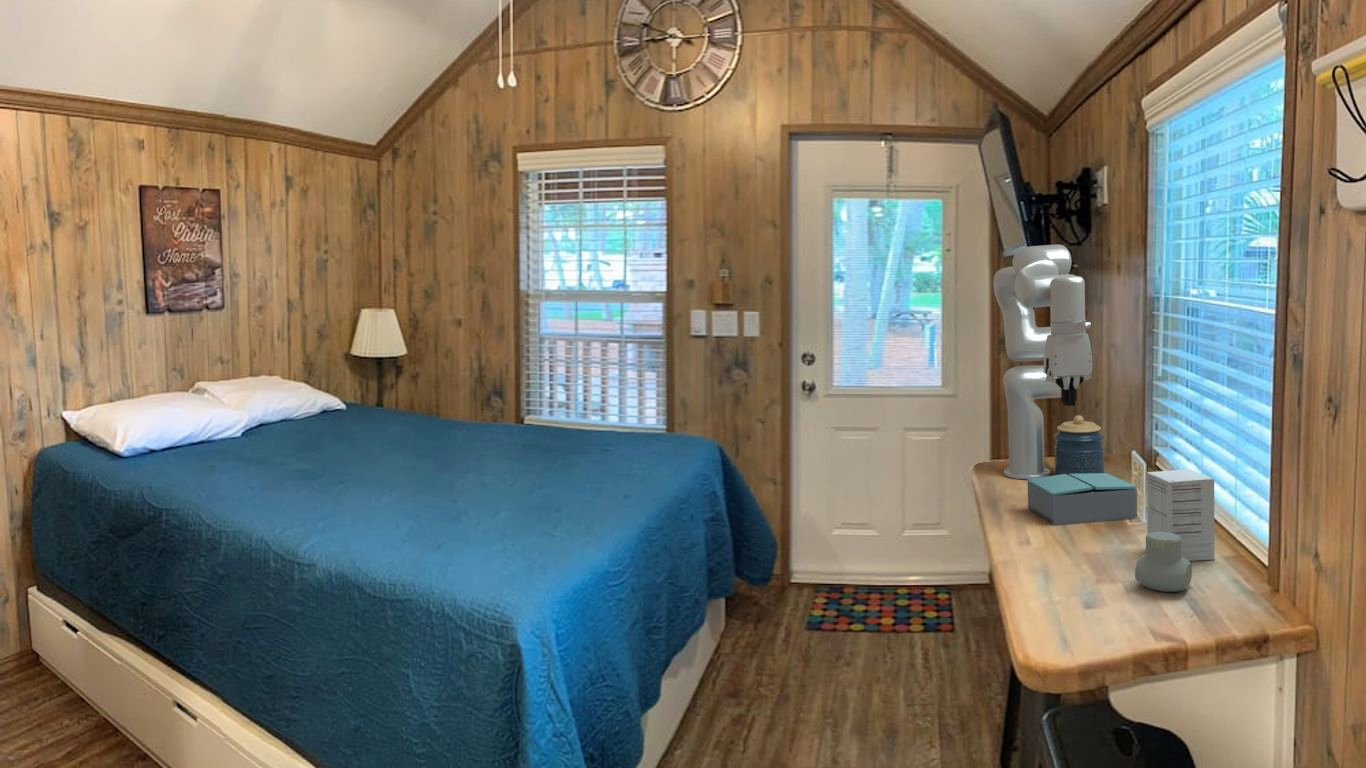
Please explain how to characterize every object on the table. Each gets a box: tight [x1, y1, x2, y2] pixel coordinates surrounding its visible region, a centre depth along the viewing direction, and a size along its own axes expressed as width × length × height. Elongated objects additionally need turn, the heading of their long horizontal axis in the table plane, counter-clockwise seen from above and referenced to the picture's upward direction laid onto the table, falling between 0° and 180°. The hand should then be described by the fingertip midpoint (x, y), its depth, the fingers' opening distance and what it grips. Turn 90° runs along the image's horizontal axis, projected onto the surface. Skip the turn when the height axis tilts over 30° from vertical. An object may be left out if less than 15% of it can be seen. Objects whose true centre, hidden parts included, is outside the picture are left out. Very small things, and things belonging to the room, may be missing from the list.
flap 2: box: [1069, 472, 1138, 490], centre depth 212 cm, size 14×10×1 cm
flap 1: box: [1027, 474, 1093, 496], centre depth 212 cm, size 14×10×1 cm
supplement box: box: [1146, 469, 1216, 562], centre depth 180 cm, size 10×9×17 cm
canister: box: [1053, 414, 1106, 475], centre depth 245 cm, size 13×13×18 cm
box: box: [1027, 481, 1138, 526], centre depth 212 cm, size 14×20×7 cm
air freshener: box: [1134, 532, 1193, 593], centre depth 164 cm, size 11×8×10 cm
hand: (1069, 404), depth 209 cm, fingers closed
